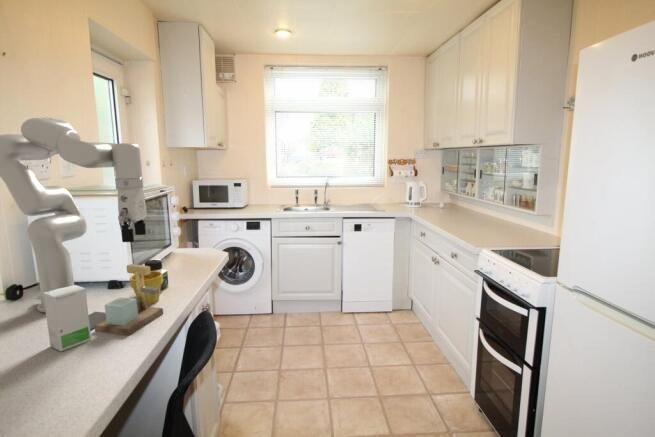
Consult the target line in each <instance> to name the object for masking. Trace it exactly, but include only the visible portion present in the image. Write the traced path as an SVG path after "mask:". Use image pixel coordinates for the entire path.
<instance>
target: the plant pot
mask: <svg viewBox="0 0 655 437" xmlns="http://www.w3.org/2000/svg"><path fill="white" fill-rule="evenodd" d="M143 277H144V286H148V287H154V288H159V293H158V294H149V293H145V296H146V306H147V305H152V304H155V303H157V302H159V299H160V295H161V293H160V288H161V284H162V283H163V276H162V273H161V272H159V271H151V274H148V275H146V276H145V275H143ZM129 283H130V287H131V289H132V290H133V291H134V294H135V297H136V300H137V301H138V299H137V290H136V281H135V274H133V275H131V276H130V277H129Z"/></svg>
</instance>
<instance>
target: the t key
mask: <svg viewBox="0 0 655 437" xmlns="http://www.w3.org/2000/svg"><path fill="white" fill-rule="evenodd" d="M126 273H127V274H133V275H134V274H135V281H136V290H137V297H136V300H137V299H138V300H137V306H138V309H139V310H143V309H146V308H147V307H148V306H147V305H146V296H145V293H149V294H158V293H159V288H154V287H148V286H144V277H143V275H145V276H146V275H148V274H151V271H150V266H145V265H143V264H134V263H130V264H127V265H126Z"/></svg>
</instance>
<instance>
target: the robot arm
mask: <svg viewBox="0 0 655 437" xmlns="http://www.w3.org/2000/svg"><path fill="white" fill-rule="evenodd" d="M20 133H21V134H19V133H18V134H14V133H13V134H12V133H11V134H10V133H9V134H7V133H6V134H5V133H4V134H0V178H1V180H2V182H4V184H5V185H6V187H7V190H8V191H9V193H10V194H11V196H12V199H13V200H14V202H15V203H16V206H17V207H18V208H19V210H20V212H21V213H22V214H23V215H25V216H27V217H36V216H37V217H38V216H41V217H39V218H37V219H34V220H32V221H31V222H30V223H29V224H28V226H27V231H26V232H27V233H26V234H27V236H28V239H29V241H30V244H31V247H32V249H33V252H34V257H35V263H36V270H37V276H38V282H39V288H40V292H39V295H36V296H35V299H36V300H40V303H39V304H38V305H37V311H38V312H40V313H44V314H46V310H45V302H44V296H43V293H44V292H48V291H52V290H56V289H59V288H64V287H69V286H73V285H75V280H74V272H73V267H72V259H71V253H70V252H69V250H68V248H66V247H65V246H64V244H63V242H68V241H71V240H75V239H78V238H81V237H83V236H84V235H85V233H86V232H87V229H88V227H87V222H86V220H85V217H84V215H83V213H82V212H81V210H80V208H79V206H78V205H77V203H76V201H75V199H74V197H73V196H72V194H71V193H70V192H69V190H68V189H66V188H65V187H63V186H59V185H47V186H45V185H42V183H41V182H40V181H39V179H38V177H37V175H36V174H35V173H34V172H33V171H32V169H30V168H29V167H28V166H26V165H24V164H23V163H21V162H20V161H44V160H48V159H50V158H52V157H53V156H55V155H57V154H58V155H59V156H60V158H62V159H63V160H64V161H65V162H67V163H70V164H73V165H75V166H78V167H82V168H85V169H99V168H100V169H101V168H103V169H104V168H113V172H114V173H113V174H114V181H115V182H114V183H115V190H117V211H118V217H117V220H118V222H119V223H118V225H119V226H120V227H119V228H120V231H121V232H120V233H121V241H122V243H133V242H135V237H134V236H135V235H136V236H144V235H146V234H147V231H146V230H147V228H146V217H147V215H148V212H147V210H148V209H147V205H146V198H145V193H144V182H143V180H144V179H143V170H142V158H141V148H140V146H139V145H138V144H136V143H126V142H125V143H123V142H122V143H118V142H117V143H114V142H93V141H92V142H89V141H83V140H81V136H80V134H79V132H77V131H76V130H75V129H74V128H73V126H72V125H71V124H70V123H68V122H67V121H65V120H62V119H56V118H55V119H54V118H42V117H32V118H28V119H27V120H24V122H23V123H22V124H21V126H20ZM51 214H53V215H51ZM44 215H46V216H44ZM47 215H48V216H47ZM133 222H134V224H133ZM133 225H134V228H132V227H133ZM134 234H135V235H134Z"/></svg>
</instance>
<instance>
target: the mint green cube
mask: <svg viewBox="0 0 655 437" xmlns="http://www.w3.org/2000/svg"><path fill="white" fill-rule="evenodd" d="M137 306H138V300H137V298H130V297H120V296H119V297H118V298H116V299H114V300H111V301H110V302H107V303H105V304H104V313H106V321H107V324H112V325H121V326H124V325H126V324H128V323H129V322H131V321H133V320H134V319H136V318H138V310H137Z"/></svg>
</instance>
